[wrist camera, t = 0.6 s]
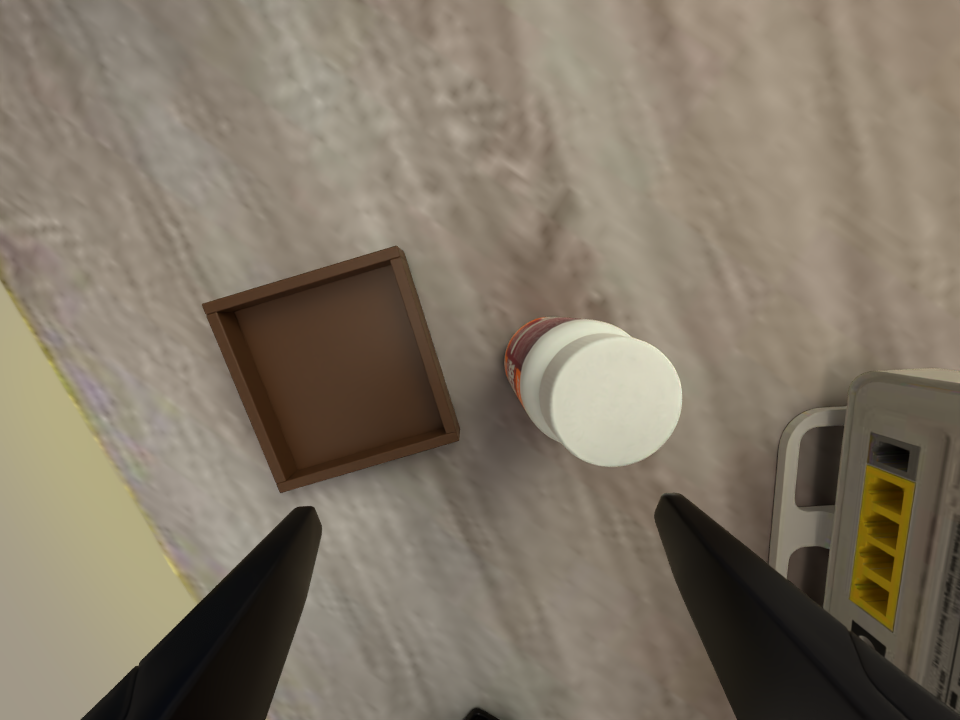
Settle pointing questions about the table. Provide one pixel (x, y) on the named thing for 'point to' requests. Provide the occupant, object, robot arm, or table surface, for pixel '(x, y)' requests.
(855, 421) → the network device
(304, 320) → the walnut tray
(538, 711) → the table surface
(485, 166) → the table surface
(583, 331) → the pill bottle
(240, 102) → the table surface
